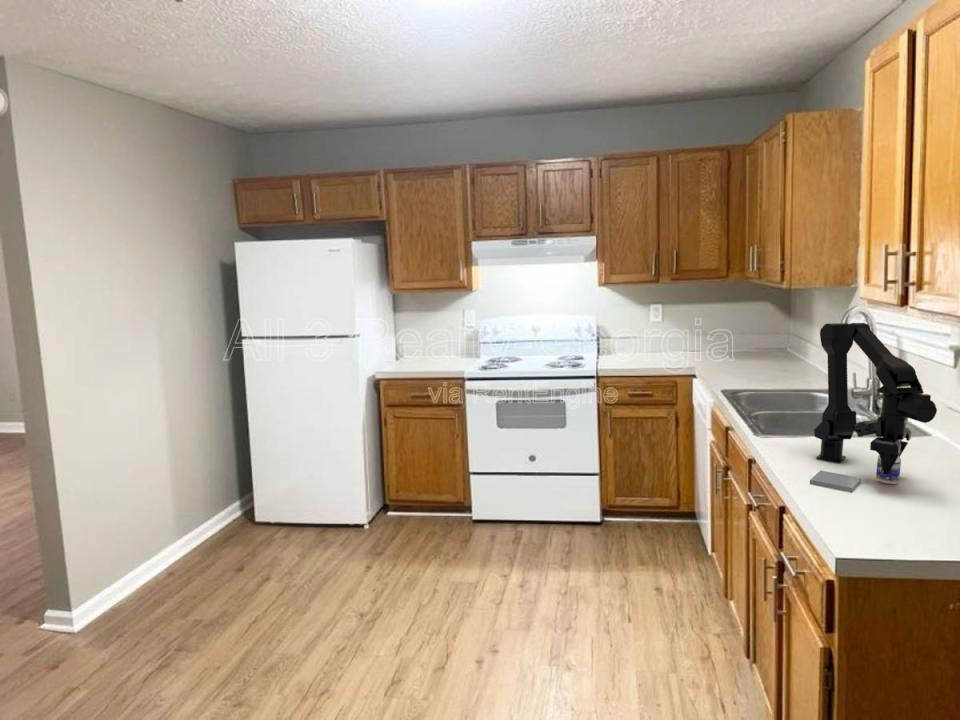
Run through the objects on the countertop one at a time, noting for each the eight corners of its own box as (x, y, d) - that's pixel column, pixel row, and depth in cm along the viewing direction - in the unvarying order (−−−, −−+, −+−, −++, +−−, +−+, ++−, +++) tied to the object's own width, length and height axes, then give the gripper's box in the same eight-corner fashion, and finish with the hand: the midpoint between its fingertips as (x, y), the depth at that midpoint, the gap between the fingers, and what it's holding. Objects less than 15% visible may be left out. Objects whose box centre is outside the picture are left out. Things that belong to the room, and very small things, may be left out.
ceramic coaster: (820, 474, 193) (820, 470, 192) (860, 482, 186) (861, 478, 186) (809, 484, 185) (810, 479, 185) (851, 492, 179) (852, 488, 178)
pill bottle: (871, 478, 186) (874, 446, 185) (885, 476, 188) (888, 443, 187) (888, 485, 182) (892, 451, 180) (903, 482, 183) (907, 449, 182)
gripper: (867, 402, 194) (862, 456, 197) (850, 414, 180) (845, 473, 182) (914, 408, 187) (908, 464, 190) (900, 422, 173) (894, 483, 175)
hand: (888, 471), depth 184 cm, fingers closed on pill bottle, 5 cm apart
